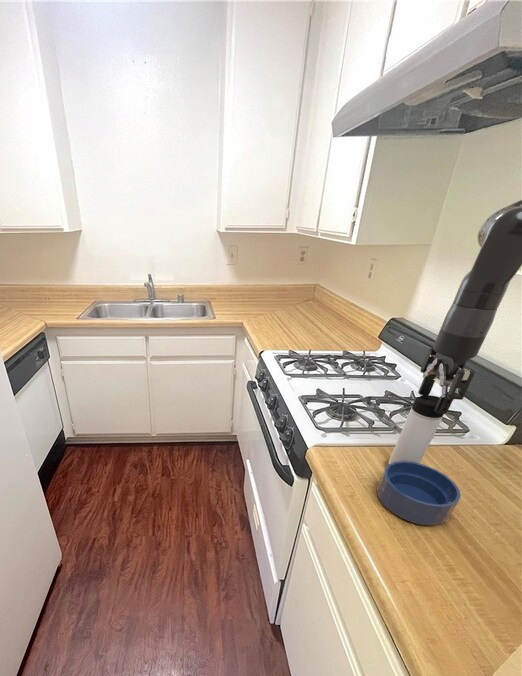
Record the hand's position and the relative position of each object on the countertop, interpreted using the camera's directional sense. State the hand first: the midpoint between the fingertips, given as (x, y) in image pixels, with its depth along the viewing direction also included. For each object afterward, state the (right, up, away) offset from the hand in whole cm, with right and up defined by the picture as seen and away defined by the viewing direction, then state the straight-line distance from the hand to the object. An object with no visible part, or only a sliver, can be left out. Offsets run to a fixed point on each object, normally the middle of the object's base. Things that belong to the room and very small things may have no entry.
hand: (430, 403), depth 76 cm
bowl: (-4, -22, +1) cm, 22 cm away
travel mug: (0, -16, +10) cm, 19 cm away
